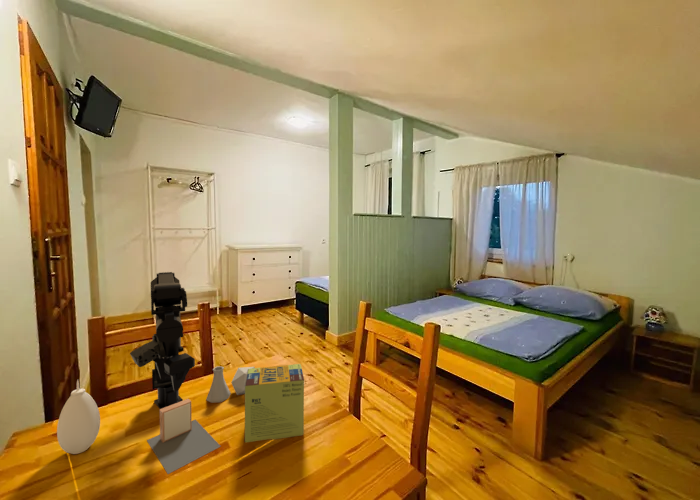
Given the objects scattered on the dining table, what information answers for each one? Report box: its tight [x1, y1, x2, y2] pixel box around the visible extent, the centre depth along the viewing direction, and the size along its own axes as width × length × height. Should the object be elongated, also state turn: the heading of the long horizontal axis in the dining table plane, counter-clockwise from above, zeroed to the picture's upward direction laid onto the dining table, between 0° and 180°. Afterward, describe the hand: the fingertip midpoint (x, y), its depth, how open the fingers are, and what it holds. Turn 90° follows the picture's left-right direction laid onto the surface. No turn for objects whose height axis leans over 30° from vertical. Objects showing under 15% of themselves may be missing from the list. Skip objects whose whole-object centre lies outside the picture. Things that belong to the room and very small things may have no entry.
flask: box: [205, 365, 231, 404], centre depth 99 cm, size 7×7×10 cm
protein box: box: [244, 363, 305, 443], centre depth 85 cm, size 10×15×16 cm
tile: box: [159, 398, 193, 442], centre depth 80 cm, size 2×7×8 cm, turn 138°
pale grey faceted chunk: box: [231, 366, 256, 396], centre depth 103 cm, size 8×9×10 cm
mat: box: [146, 419, 222, 475], centre depth 77 cm, size 16×12×1 cm
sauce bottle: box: [56, 379, 101, 455], centre depth 74 cm, size 8×8×18 cm
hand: (169, 385), depth 84 cm, fingers open, 9 cm apart
